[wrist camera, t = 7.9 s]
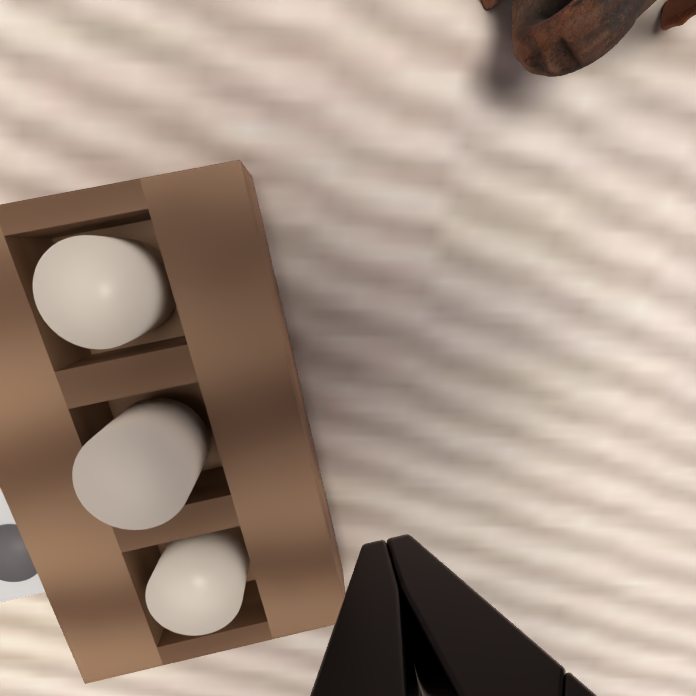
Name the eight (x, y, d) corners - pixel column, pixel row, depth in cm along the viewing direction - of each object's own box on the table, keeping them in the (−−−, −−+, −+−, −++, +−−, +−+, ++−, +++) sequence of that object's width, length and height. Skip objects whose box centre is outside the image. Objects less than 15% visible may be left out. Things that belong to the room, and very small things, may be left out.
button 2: (260, 572, 21) (252, 623, 18) (181, 591, 21) (161, 644, 18) (240, 503, 20) (229, 545, 18) (158, 522, 20) (133, 567, 17)
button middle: (220, 474, 18) (204, 516, 15) (128, 494, 18) (94, 540, 15) (195, 388, 17) (172, 415, 15) (98, 408, 17) (55, 440, 14)
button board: (342, 570, 23) (348, 621, 19) (116, 622, 22) (84, 683, 19) (251, 176, 18) (239, 159, 15) (-38, 230, 17) (-113, 226, 14)
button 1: (189, 323, 18) (166, 337, 15) (96, 342, 18) (56, 359, 15) (162, 229, 17) (132, 224, 15) (64, 248, 17) (15, 247, 14)
